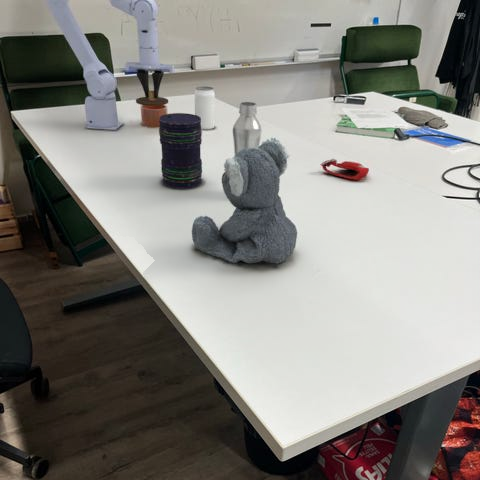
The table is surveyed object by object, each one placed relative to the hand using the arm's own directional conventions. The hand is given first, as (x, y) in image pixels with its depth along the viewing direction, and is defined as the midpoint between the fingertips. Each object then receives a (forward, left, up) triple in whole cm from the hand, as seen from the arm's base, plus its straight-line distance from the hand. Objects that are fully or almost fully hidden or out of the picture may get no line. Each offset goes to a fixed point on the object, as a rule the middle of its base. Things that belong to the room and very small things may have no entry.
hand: (151, 97), depth 149 cm
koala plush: (+38, -76, -10) cm, 85 cm away
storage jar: (+18, -44, -10) cm, 48 cm away
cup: (-2, +7, -10) cm, 12 cm away
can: (+15, +7, -10) cm, 20 cm away
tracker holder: (+59, -29, -10) cm, 67 cm away
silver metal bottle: (+34, -49, -10) cm, 60 cm away
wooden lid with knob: (0, 0, -1) cm, 1 cm away
